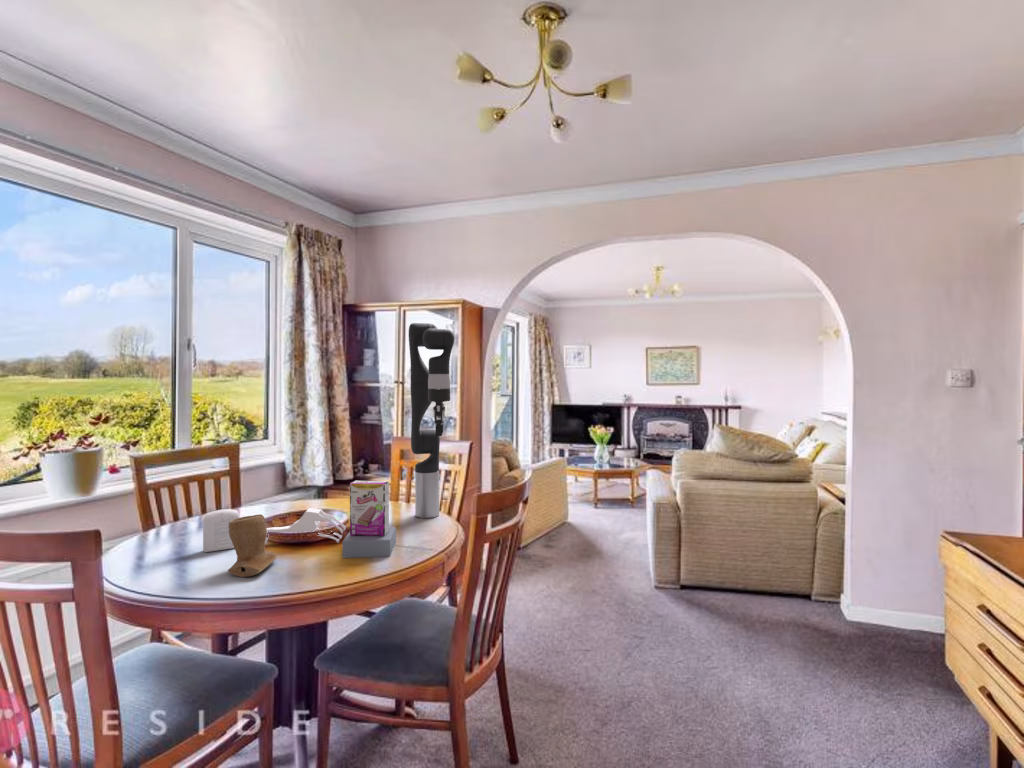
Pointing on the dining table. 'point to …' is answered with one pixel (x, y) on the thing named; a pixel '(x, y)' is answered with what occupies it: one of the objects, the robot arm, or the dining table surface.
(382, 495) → the candy bar box
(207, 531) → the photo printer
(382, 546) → the slate block
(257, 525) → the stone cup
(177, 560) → the dining table surface
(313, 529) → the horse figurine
